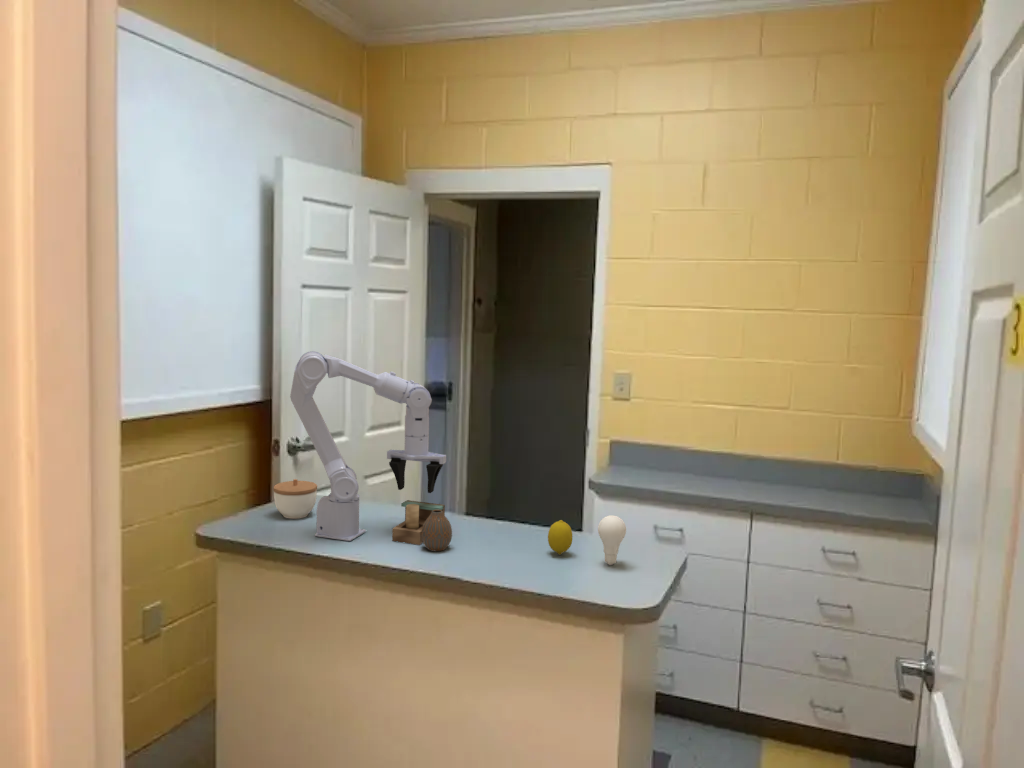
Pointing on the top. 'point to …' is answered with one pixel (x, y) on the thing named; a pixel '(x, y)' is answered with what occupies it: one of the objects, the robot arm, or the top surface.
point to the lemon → (560, 537)
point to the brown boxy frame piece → (415, 536)
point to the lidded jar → (295, 498)
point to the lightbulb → (611, 536)
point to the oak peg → (412, 516)
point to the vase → (436, 531)
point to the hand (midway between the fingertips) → (415, 490)
